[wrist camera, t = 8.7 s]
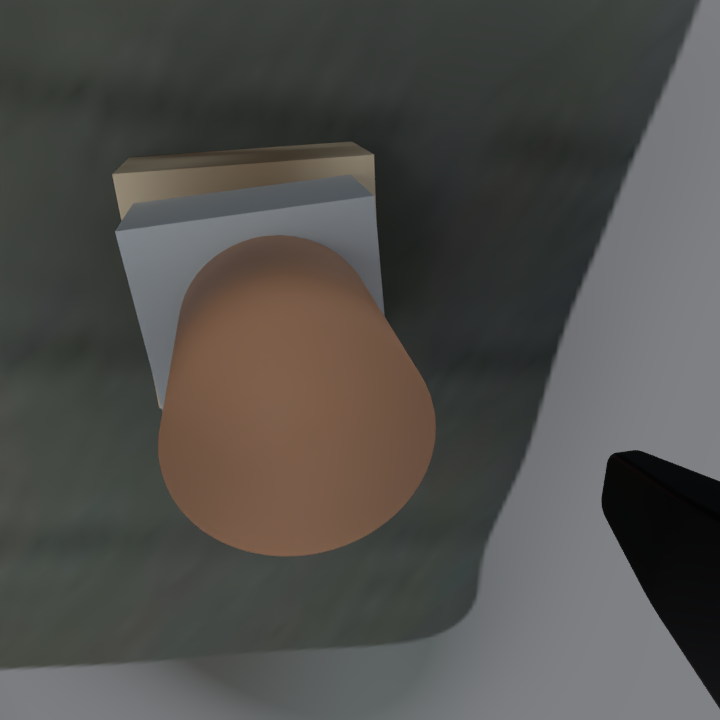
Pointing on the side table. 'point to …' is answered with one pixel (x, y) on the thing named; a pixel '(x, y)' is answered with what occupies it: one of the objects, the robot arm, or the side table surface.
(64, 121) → the side table surface
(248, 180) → the oak base block
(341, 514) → the terracotta rounded cylinder
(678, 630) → the robot arm
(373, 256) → the grey-blue top block
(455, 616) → the side table surface
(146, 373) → the side table surface
